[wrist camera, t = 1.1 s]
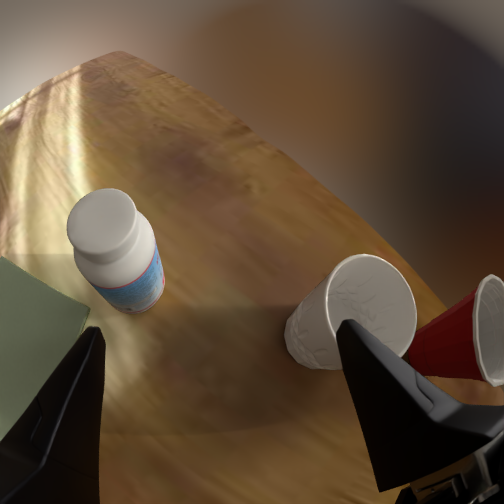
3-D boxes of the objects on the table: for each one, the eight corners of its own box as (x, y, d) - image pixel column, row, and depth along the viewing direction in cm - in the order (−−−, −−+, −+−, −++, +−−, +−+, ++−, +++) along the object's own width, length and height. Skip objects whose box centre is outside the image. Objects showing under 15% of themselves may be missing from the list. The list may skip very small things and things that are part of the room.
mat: (43, 473, 13) (40, 474, 13) (-41, 397, 12) (-44, 397, 12) (90, 309, 22) (88, 307, 22) (3, 257, 21) (1, 255, 21)
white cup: (260, 328, 25) (299, 297, 16) (318, 282, 28) (370, 235, 19) (312, 391, 23) (375, 391, 14) (364, 339, 26) (431, 314, 17)
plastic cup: (412, 415, 23) (496, 410, 13) (378, 337, 27) (462, 305, 16) (458, 364, 27) (528, 343, 16) (429, 297, 30) (498, 259, 20)
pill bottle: (178, 280, 25) (170, 212, 15) (135, 328, 22) (94, 288, 13) (134, 242, 26) (109, 164, 16) (92, 285, 23) (41, 224, 13)
